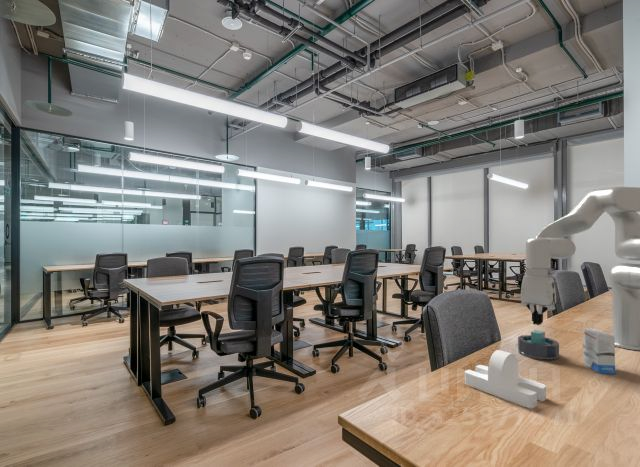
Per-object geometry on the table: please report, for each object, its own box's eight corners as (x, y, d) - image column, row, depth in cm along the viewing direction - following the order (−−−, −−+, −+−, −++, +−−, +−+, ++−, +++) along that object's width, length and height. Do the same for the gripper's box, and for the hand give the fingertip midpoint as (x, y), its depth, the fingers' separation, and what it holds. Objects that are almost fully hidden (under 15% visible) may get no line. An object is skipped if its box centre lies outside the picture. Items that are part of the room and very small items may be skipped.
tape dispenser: (531, 410, 84) (531, 366, 84) (462, 384, 98) (462, 346, 98) (547, 399, 89) (547, 357, 89) (480, 376, 104) (480, 340, 104)
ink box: (616, 374, 105) (616, 336, 105) (597, 373, 106) (597, 335, 106) (599, 364, 113) (599, 328, 113) (582, 363, 114) (582, 327, 114)
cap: (531, 346, 127) (531, 327, 127) (554, 352, 121) (554, 332, 121) (522, 350, 123) (522, 331, 123) (545, 356, 117) (545, 336, 117)
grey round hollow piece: (526, 346, 131) (526, 333, 131) (563, 355, 121) (563, 341, 121) (512, 353, 123) (512, 339, 123) (550, 363, 114) (550, 348, 114)
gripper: (566, 274, 119) (565, 327, 118) (520, 270, 130) (519, 318, 130) (558, 275, 114) (557, 330, 114) (511, 271, 126) (510, 321, 126)
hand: (537, 324), depth 122 cm, fingers closed
